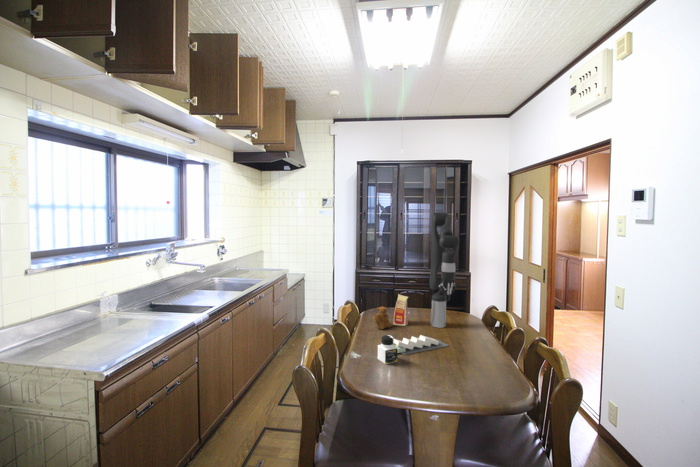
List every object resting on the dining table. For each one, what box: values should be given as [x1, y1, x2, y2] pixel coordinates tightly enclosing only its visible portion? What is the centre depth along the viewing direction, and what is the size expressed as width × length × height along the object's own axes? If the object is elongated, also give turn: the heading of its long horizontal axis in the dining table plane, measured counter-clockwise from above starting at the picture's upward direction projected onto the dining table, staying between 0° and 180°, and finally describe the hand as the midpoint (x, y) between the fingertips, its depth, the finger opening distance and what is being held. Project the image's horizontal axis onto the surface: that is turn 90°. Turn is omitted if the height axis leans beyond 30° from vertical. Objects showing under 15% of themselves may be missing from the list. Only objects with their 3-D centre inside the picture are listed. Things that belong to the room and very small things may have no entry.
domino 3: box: [402, 337, 423, 348], centre depth 169 cm, size 2×5×10 cm
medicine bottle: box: [377, 334, 398, 365], centre depth 154 cm, size 7×7×12 cm
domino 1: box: [394, 338, 414, 350], centre depth 166 cm, size 2×5×10 cm
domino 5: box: [418, 334, 440, 345], centre depth 174 cm, size 2×5×10 cm
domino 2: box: [394, 344, 406, 354], centre depth 164 cm, size 2×5×10 cm
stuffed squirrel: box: [372, 306, 393, 330], centre depth 203 cm, size 10×14×13 cm
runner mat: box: [400, 338, 450, 356], centre depth 171 cm, size 10×30×1 cm, turn 114°
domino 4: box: [410, 336, 431, 347], centre depth 171 cm, size 2×5×10 cm
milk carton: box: [392, 293, 409, 327], centre depth 212 cm, size 9×9×20 cm
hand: (447, 300), depth 178 cm, fingers closed
